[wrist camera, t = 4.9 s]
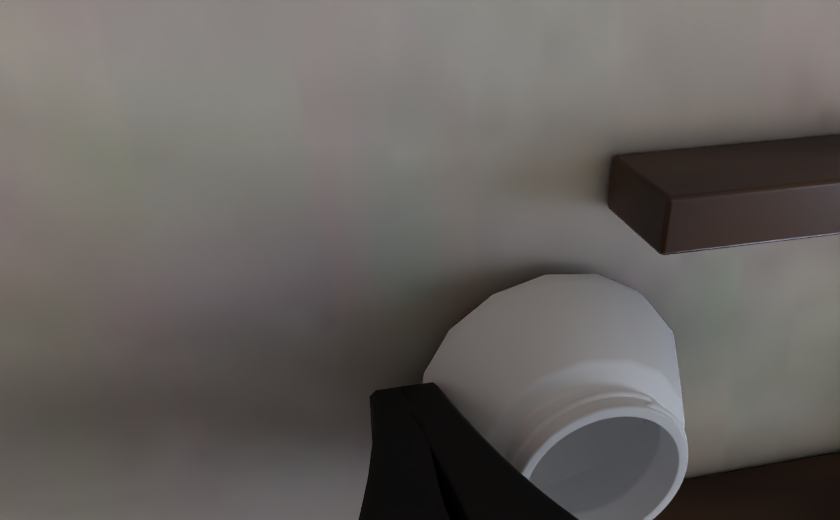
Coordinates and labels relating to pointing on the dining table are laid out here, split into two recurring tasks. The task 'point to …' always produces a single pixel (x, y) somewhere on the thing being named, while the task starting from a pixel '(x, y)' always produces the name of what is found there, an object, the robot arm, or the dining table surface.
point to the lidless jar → (573, 392)
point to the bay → (728, 227)
